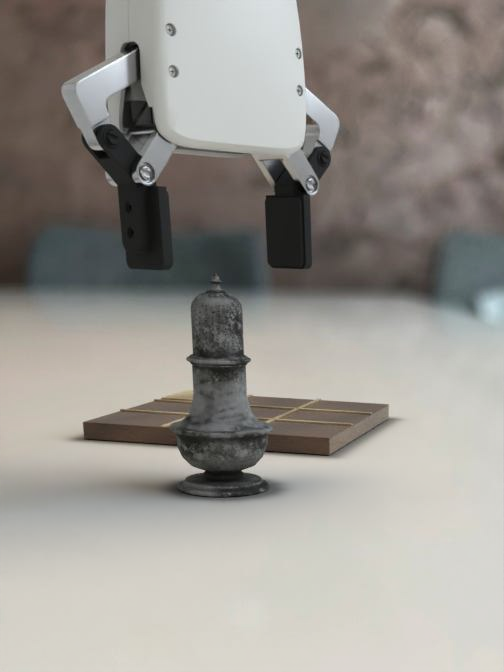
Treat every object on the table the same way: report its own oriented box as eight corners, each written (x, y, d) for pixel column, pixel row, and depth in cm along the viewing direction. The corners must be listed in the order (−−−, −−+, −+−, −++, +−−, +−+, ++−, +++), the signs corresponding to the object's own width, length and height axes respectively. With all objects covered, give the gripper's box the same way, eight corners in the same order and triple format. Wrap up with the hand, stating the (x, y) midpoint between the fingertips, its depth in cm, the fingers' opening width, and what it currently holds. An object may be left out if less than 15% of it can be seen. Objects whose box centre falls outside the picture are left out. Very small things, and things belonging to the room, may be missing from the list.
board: (83, 438, 78) (82, 419, 78) (184, 405, 95) (184, 389, 95) (329, 455, 76) (329, 434, 76) (388, 418, 93) (389, 401, 92)
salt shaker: (225, 502, 62) (216, 275, 57) (150, 487, 64) (136, 270, 60) (295, 485, 66) (291, 275, 62) (222, 472, 69) (214, 270, 65)
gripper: (283, -45, 64) (294, 266, 70) (1, -122, 51) (43, 267, 57) (377, -64, 60) (381, 270, 65) (94, -153, 47) (130, 272, 53)
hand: (223, 268), depth 61 cm, fingers open, 9 cm apart
